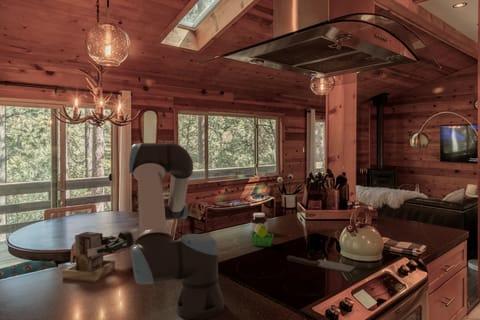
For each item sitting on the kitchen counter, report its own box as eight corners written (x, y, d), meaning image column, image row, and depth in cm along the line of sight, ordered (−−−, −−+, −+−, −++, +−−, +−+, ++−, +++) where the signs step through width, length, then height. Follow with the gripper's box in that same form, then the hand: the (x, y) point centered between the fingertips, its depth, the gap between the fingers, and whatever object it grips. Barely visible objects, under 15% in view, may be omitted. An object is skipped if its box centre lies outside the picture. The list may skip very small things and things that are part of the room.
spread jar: (260, 230, 206) (260, 211, 205) (274, 233, 198) (273, 214, 197) (246, 234, 198) (246, 214, 197) (260, 237, 189) (259, 217, 189)
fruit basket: (273, 243, 178) (273, 222, 178) (272, 248, 170) (272, 226, 169) (252, 242, 180) (252, 221, 180) (250, 247, 172) (250, 225, 171)
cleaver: (284, 262, 149) (284, 257, 149) (292, 256, 158) (292, 251, 158) (352, 275, 135) (352, 269, 135) (356, 267, 143) (357, 262, 143)
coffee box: (104, 271, 138) (103, 233, 138) (91, 277, 133) (90, 237, 132) (88, 268, 142) (87, 231, 142) (75, 273, 136) (74, 234, 136)
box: (93, 282, 129) (93, 273, 129) (62, 279, 132) (62, 270, 132) (115, 269, 143) (114, 261, 142) (86, 266, 146) (86, 258, 146)
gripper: (144, 252, 142) (94, 266, 126) (116, 241, 159) (69, 252, 143) (144, 235, 141) (93, 246, 126) (116, 226, 158) (69, 235, 143)
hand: (80, 249), depth 135 cm, fingers open, 13 cm apart
